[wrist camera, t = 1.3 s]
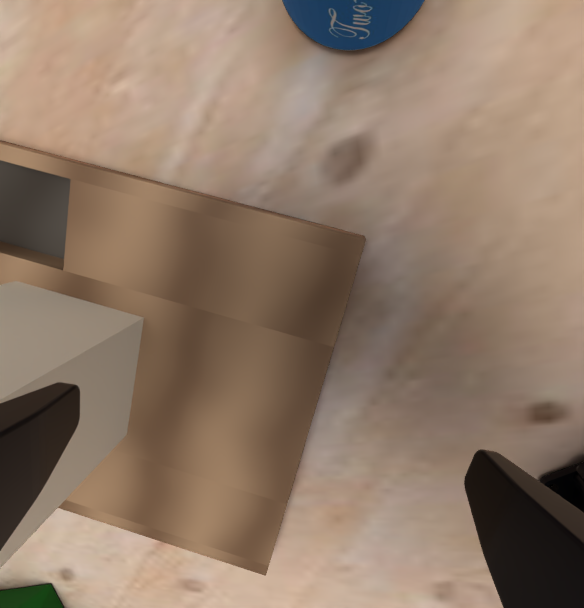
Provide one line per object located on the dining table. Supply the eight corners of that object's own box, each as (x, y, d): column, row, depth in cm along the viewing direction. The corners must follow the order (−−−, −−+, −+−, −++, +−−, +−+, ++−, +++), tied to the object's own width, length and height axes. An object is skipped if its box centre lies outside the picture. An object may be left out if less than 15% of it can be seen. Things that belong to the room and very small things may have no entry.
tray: (364, 236, 19) (368, 244, 15) (271, 546, 25) (258, 609, 21) (-128, 106, 21) (-234, 85, 17) (-111, 423, 27) (-188, 460, 23)
